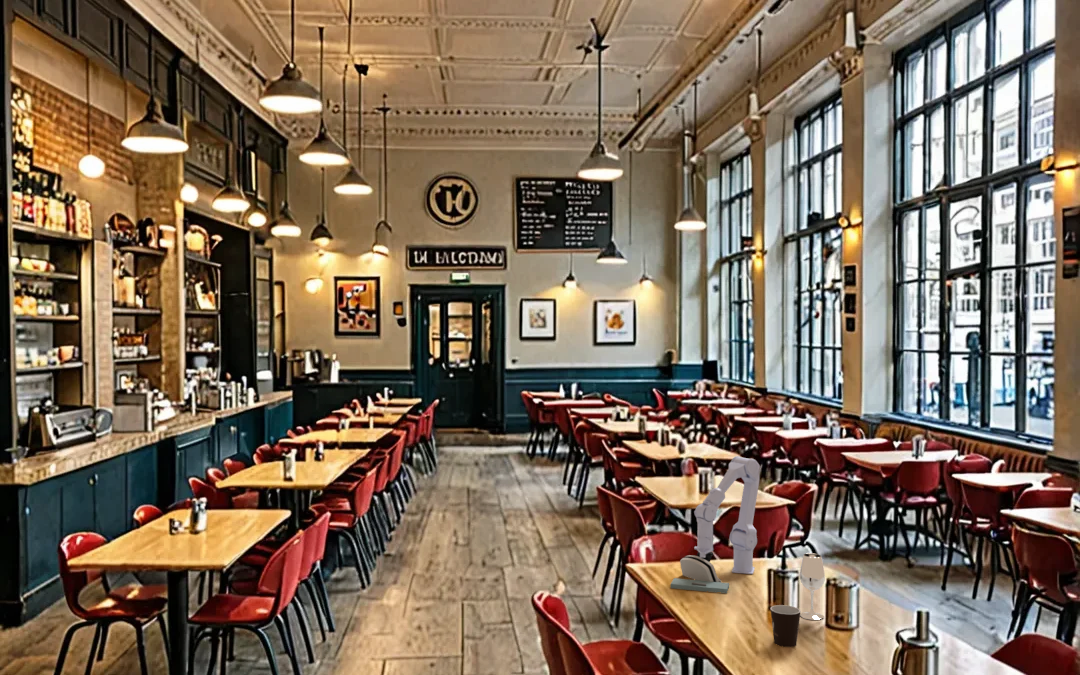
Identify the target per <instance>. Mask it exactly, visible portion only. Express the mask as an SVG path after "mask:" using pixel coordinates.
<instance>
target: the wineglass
mask: <svg viewBox="0 0 1080 675" xmlns="http://www.w3.org/2000/svg"><path fill="white" fill-rule="evenodd" d="M799 579H800V580H799V581H800V583H801V585H802V586H803V587H804V588H805V589H807V590H808V591H809V592H810V611H805V612H800V617H801V618H803V619H805V620H810V621H821V620H823V619H822V618H824V619H825V616H824V615H823V614H821V613H818V612H815V610H814V593H815V592H816V591H818V590H819V589H820V588H822V587H823V586H824V584H825V580H826V576H825V567H824V563H823V559H822V555H821V554H818V553H812V552H807V553H804V554H803V556H802V559H801V564H800V569H799ZM820 619H821V620H820Z"/></svg>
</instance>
